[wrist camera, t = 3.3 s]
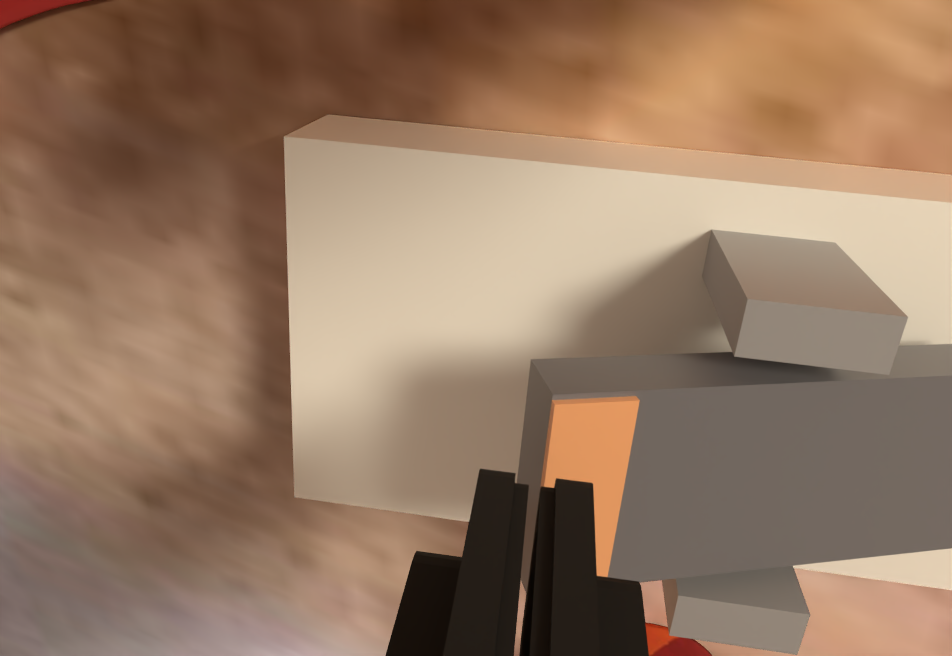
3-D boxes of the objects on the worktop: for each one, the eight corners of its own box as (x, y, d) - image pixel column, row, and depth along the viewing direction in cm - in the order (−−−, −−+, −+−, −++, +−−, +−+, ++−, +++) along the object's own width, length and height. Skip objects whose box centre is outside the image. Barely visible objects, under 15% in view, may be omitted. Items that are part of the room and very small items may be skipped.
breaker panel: (1224, 201, 17) (1594, 325, 11) (1065, 532, 21) (1272, 767, 14) (328, 114, 19) (199, 177, 12) (330, 434, 22) (231, 606, 16)
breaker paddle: (975, 342, 15) (1034, 375, 14) (912, 510, 17) (961, 552, 15) (531, 359, 13) (555, 399, 12) (508, 548, 15) (529, 600, 13)
